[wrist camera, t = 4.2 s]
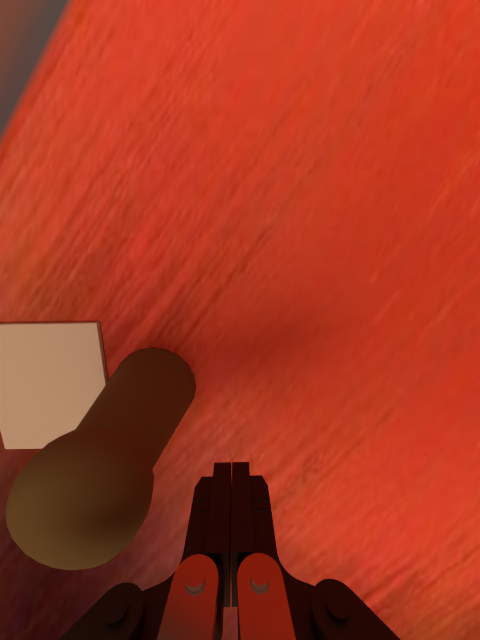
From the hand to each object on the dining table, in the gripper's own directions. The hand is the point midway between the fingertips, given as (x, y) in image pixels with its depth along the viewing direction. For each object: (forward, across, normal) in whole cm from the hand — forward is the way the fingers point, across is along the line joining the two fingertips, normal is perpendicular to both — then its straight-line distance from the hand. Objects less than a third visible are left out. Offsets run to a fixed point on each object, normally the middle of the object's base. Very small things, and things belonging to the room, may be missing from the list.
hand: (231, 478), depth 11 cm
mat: (+9, +14, 0) cm, 16 cm away
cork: (+9, +6, 0) cm, 11 cm away
